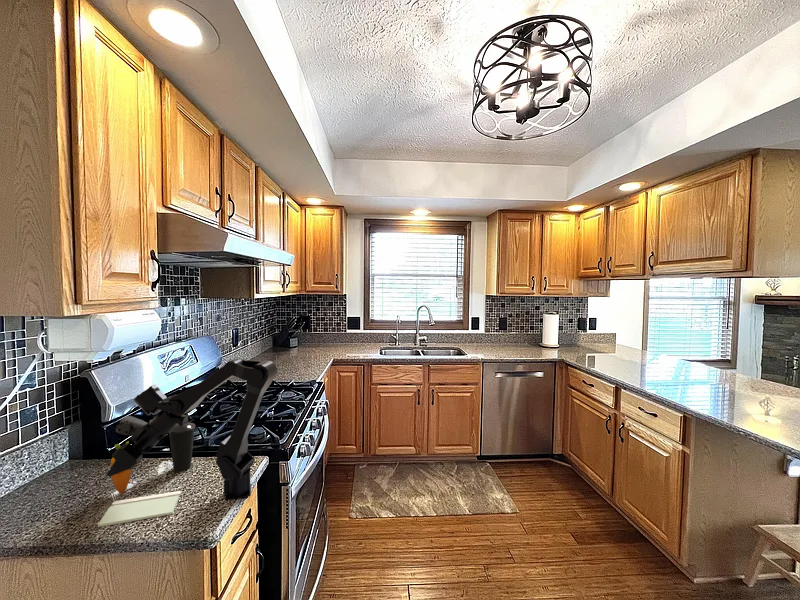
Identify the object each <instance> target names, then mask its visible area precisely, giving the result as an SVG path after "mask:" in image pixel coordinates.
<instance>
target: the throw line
mask: <svg viewBox="0 0 800 600" xmlns="http://www.w3.org/2000/svg"><path fill="white" fill-rule="evenodd" d="M181 494H182V490H178V491H172V492H171V491H170V492H165V493H158V494H152V495H146V496H145V495H144V496H140V497H133V498H127V499H121V500H114V501H113V502H112V504H111V506H116V505H122V504H128V503H134V502H140V501H147V500H153V499H159V498H165V497H171V496H178V495H179V496H180V495H181Z"/></svg>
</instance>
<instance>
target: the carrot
mask: <svg viewBox="0 0 800 600" xmlns="http://www.w3.org/2000/svg"><path fill="white" fill-rule="evenodd" d="M125 444H130V441H129V440H128V441H127V440H126V442H125ZM121 446H122V445H120V444H119V443H117V444H114V448H115V449H116V450H118V449H119V448H120V447H121ZM116 450H115V451H116ZM114 462H115V459H114V458H113V457H112V458H111V461H110V467H111V466H112V465H113V463H114ZM132 469H133V468H132ZM132 469H131V470H129V469H128V470H125V471H123V472H120V473H118V474H115V475H113V476H111V480H112V483H113V486H114V488H115V490H116V492H118V494H120V495H123V494H124V493H125V492H126V489H127V488H128V485H129V482H130V480H131V474H132Z"/></svg>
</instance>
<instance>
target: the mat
mask: <svg viewBox="0 0 800 600" xmlns="http://www.w3.org/2000/svg"><path fill="white" fill-rule="evenodd" d="M179 499H180V495H177V496H170V497H164V498H158V499H152V500H146V501H139V502H133V503H127V504H121V505H114V506H112V505H111V506H109V507H108V509H107V510H106V512H105V514H104V515H103V517H102V518H101V520H99V522H98V523H97V528H101V527H102V528H103V527H107V526H112V525H118V524H124V523H130V522H135V521H140V520H146V519H152V518H158V517H163V516H168V515H173V514H174V512H175V509H176V507H177V505H178V502H179Z"/></svg>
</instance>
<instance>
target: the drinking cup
mask: <svg viewBox="0 0 800 600" xmlns="http://www.w3.org/2000/svg"><path fill="white" fill-rule="evenodd" d="M195 428H196V424H195V423H193V422H188V424H186V425H184V426H182V427H181V426H179V425H178V424H177V425H176V426H175V427H174V428H172V429H171V430H170V431H169V432H168V435H169V442H170V451H171V459H172V466H173V467H172V468H173V471H174V472H175V473H183V472H187V471H188V470H190V469H191V468H192V458H193V450H194V449H193V445H194V437H195V436H194V435H195Z"/></svg>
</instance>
